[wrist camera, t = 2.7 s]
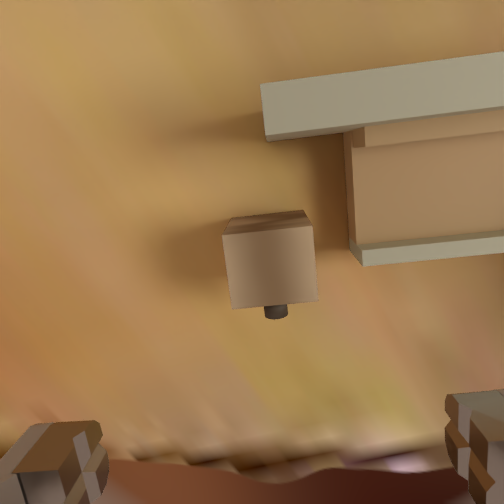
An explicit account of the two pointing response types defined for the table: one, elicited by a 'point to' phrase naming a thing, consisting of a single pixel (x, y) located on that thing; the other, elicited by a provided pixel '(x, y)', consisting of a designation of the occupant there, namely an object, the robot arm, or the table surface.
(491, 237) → the grey boxy piece
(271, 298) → the cabinet block
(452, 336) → the table surface
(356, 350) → the table surface
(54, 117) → the table surface
